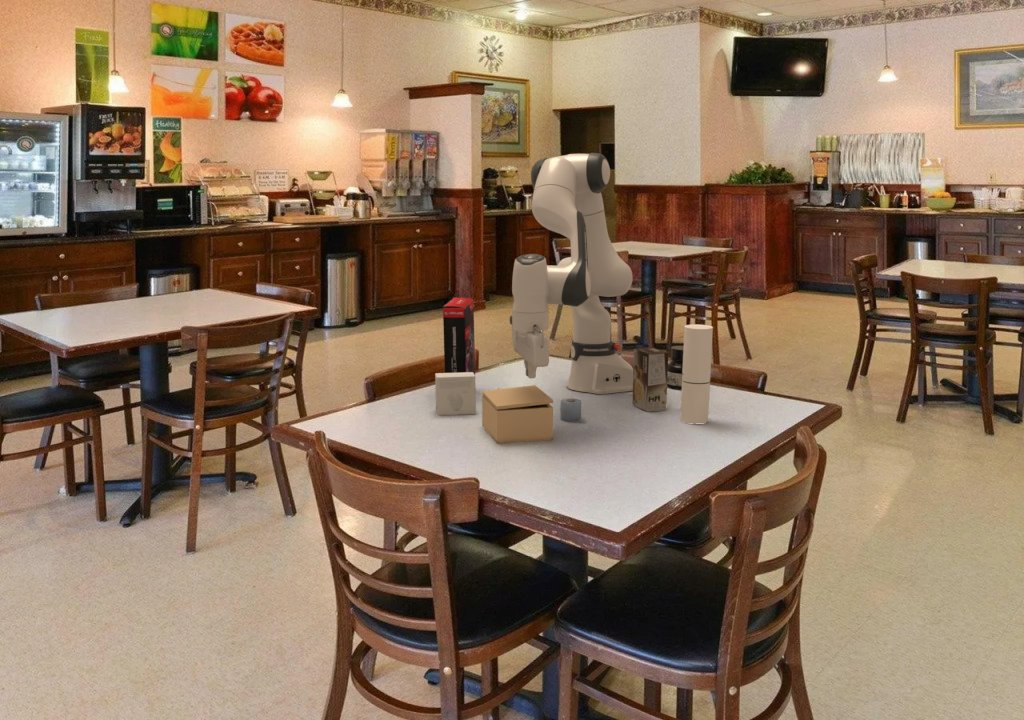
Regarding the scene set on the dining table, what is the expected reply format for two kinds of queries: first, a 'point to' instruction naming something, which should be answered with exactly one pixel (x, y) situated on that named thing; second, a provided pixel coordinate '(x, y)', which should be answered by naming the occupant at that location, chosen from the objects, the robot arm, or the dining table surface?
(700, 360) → the cylindrical container
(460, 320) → the graphics card box
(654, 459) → the dining table surface
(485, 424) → the carton
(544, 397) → the lid flap
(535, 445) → the dining table surface
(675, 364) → the ink bottle
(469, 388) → the skincare box
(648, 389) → the coffee box
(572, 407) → the tape roll
